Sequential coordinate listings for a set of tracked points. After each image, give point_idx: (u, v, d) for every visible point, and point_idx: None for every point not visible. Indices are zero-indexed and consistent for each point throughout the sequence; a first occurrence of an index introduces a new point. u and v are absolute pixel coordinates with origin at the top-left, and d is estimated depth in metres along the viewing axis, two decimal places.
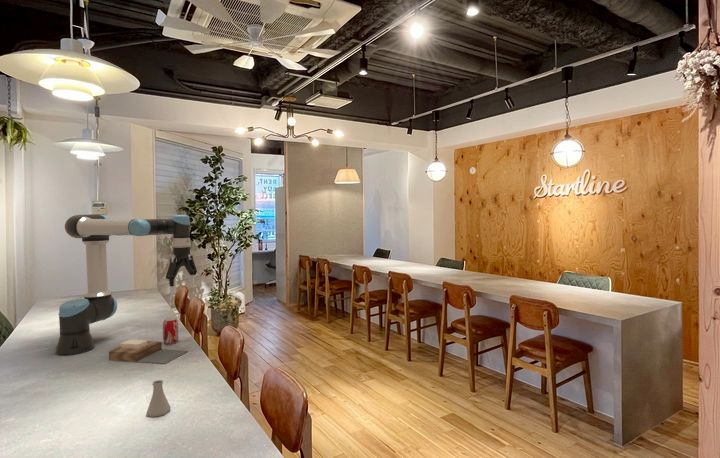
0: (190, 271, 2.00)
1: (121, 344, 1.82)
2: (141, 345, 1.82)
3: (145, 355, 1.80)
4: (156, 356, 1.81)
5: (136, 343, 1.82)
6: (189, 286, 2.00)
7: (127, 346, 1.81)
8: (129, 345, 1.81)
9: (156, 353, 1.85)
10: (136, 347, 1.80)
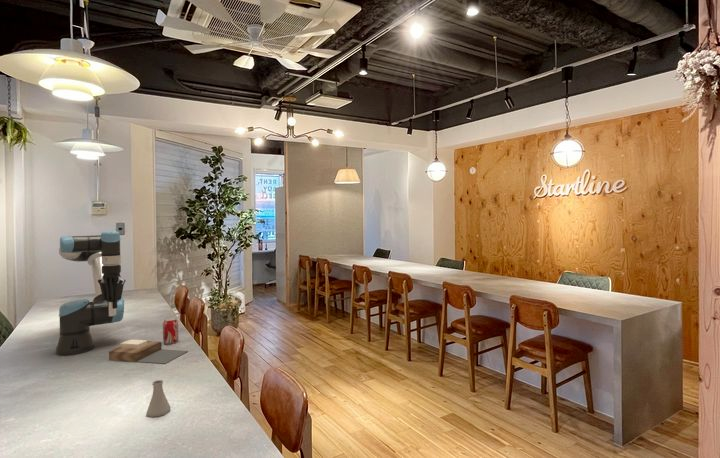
0: None
1: (121, 344, 1.82)
2: (141, 345, 1.82)
3: (145, 355, 1.80)
4: (156, 356, 1.81)
5: (136, 343, 1.82)
6: None
7: (127, 346, 1.81)
8: (129, 345, 1.81)
9: (156, 353, 1.85)
10: (136, 347, 1.80)
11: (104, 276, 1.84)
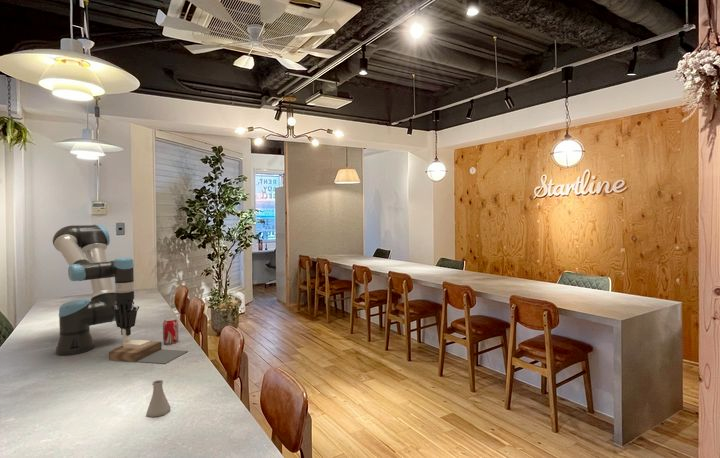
0: None
1: (124, 344, 1.82)
2: (144, 345, 1.82)
3: (145, 355, 1.80)
4: (156, 356, 1.81)
5: (139, 343, 1.81)
6: None
7: (130, 346, 1.81)
8: (132, 345, 1.81)
9: (156, 353, 1.85)
10: (139, 347, 1.80)
11: (118, 303, 1.83)
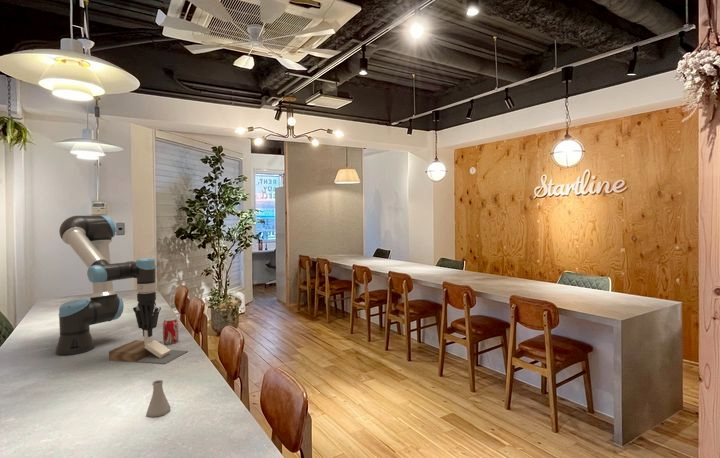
0: None
1: (146, 345, 1.79)
2: (164, 355, 1.80)
3: (145, 355, 1.80)
4: (156, 356, 1.81)
5: (160, 351, 1.79)
6: None
7: (151, 350, 1.79)
8: (153, 350, 1.79)
9: None
10: (159, 356, 1.78)
11: (139, 304, 1.81)
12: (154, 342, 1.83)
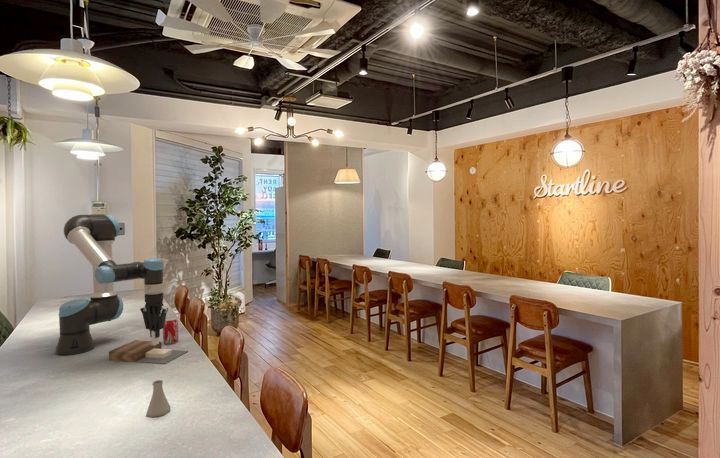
0: None
1: (146, 353, 1.80)
2: (166, 354, 1.80)
3: None
4: None
5: (161, 352, 1.80)
6: None
7: (152, 355, 1.79)
8: (154, 354, 1.79)
9: None
10: (162, 356, 1.78)
11: (147, 304, 1.81)
12: (153, 350, 1.83)
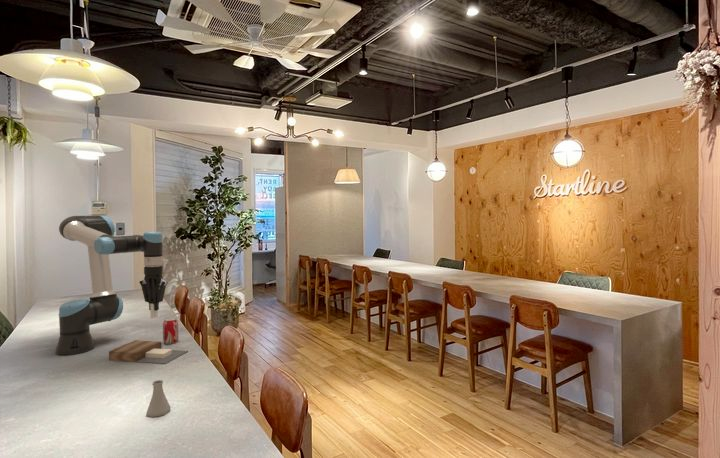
0: None
1: (146, 353, 1.80)
2: (166, 354, 1.80)
3: None
4: None
5: (161, 352, 1.80)
6: None
7: (152, 355, 1.79)
8: (154, 354, 1.79)
9: None
10: (162, 356, 1.78)
11: (146, 277, 1.80)
12: (153, 350, 1.83)
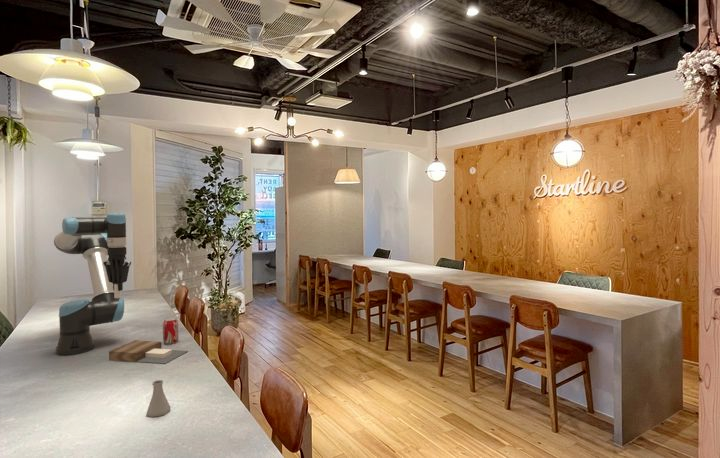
0: None
1: (146, 353, 1.80)
2: (166, 354, 1.80)
3: None
4: None
5: (161, 352, 1.80)
6: None
7: (152, 355, 1.79)
8: (154, 354, 1.79)
9: None
10: (162, 356, 1.78)
11: (110, 258, 1.84)
12: (153, 350, 1.83)
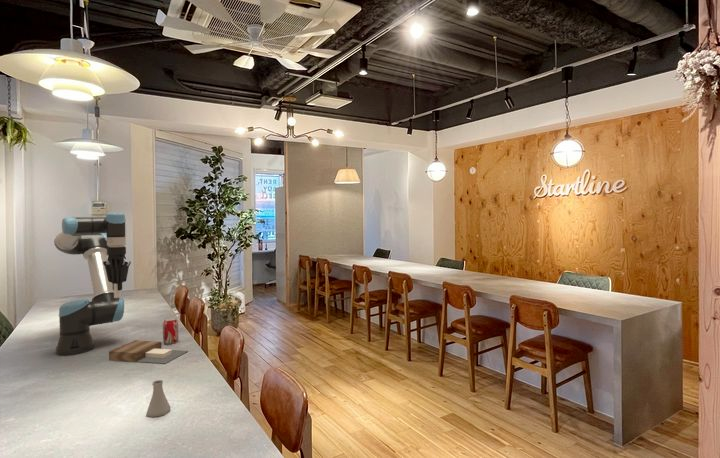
0: None
1: (146, 353, 1.80)
2: (166, 354, 1.80)
3: None
4: None
5: (161, 352, 1.80)
6: None
7: (152, 355, 1.79)
8: (154, 354, 1.79)
9: None
10: (162, 356, 1.78)
11: (109, 258, 1.84)
12: (153, 350, 1.83)
